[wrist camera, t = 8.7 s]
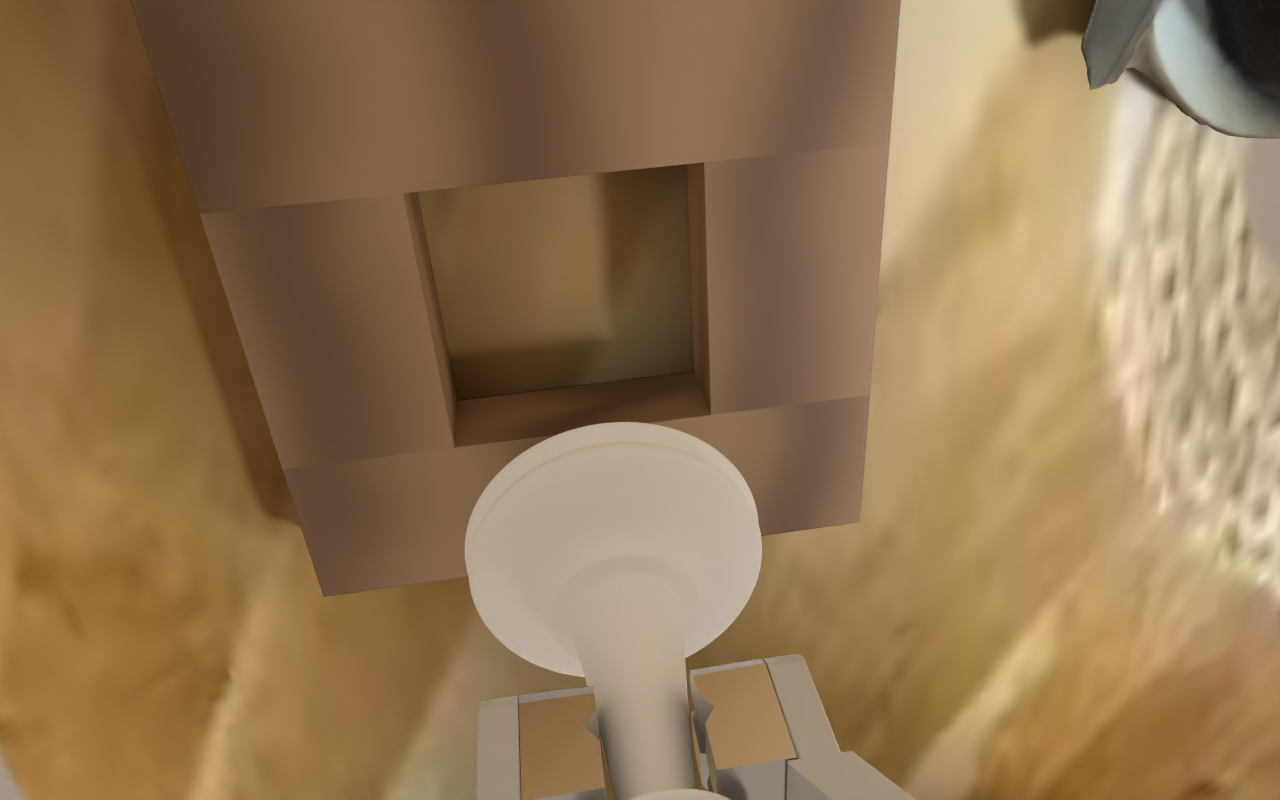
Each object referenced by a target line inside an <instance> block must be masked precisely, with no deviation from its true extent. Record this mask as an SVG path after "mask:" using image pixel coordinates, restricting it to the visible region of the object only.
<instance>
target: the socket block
mask: <svg viewBox="0 0 1280 800" xmlns="http://www.w3.org/2000/svg"><path fill="white" fill-rule="evenodd" d="M900 1H901V0H130V2H131V5H132V8H133V11H134V14H135V17H136V20H137V23H138V26H139V29H140V32H141V36H142V39H143V42H144V45H145V48H146V51H147V54H148V57H149V60H150V63H151V66H152V69H153V72H154V76H155V79H156V82H157V85H158V88H159V91H160V94H161V97H162V100H163V103H164V106H165V109H166V113H167V116H168V119H169V122H170V125H171V128H172V131H173V134H174V137H175V140H176V143H177V146H178V149H179V153H180V156H181V159H182V162H183V165H184V168H185V171H186V174H187V177H188V180H189V183H190V186H191V190H192V193H193V196H194V199H195V202H196V205H197V208H198V211H199V214H200V217H201V220H202V223H203V226H204V230H205V233H206V236H207V239H208V242H209V245H210V248H211V251H212V254H213V257H214V260H215V263H216V267H217V270H218V273H219V276H220V279H221V282H222V285H223V288H224V291H225V294H226V297H227V300H228V303H229V307H230V310H231V313H232V316H233V319H234V322H235V325H236V328H237V331H238V334H239V337H240V340H241V344H242V347H243V350H244V353H245V356H246V359H247V362H248V365H249V368H250V371H251V374H252V377H253V380H254V384H255V387H256V390H257V393H258V396H259V399H260V402H261V405H262V408H263V411H264V414H265V417H266V421H267V424H268V427H269V430H270V433H271V436H272V439H273V442H274V445H275V448H276V451H277V454H278V458H279V461H280V464H281V467H282V470H283V473H284V476H285V479H286V482H287V485H288V488H289V491H290V494H291V498H292V501H293V504H294V507H295V510H296V513H297V516H298V519H299V522H300V525H301V528H302V531H303V535H304V538H305V541H306V544H307V547H308V550H309V553H310V556H311V559H312V562H313V565H314V568H315V571H316V575H317V578H318V581H319V584H320V587H321V590H322V593H323V596H324V597H326V596H333V595H340V594H347V593H354V592H362V591H369V590H376V589H383V588H390V587H397V586H405V585H412V584H419V583H426V582H433V581H441V580H448V579H455V578H462V577H469V576H468V573H467V568H466V562H465V537H466V531H467V527H468V523H469V519H470V517H471V514H472V512H473V509H474V507H475V505H476V503H477V501H478V499H479V498H480V496H481V494H482V493H483V491H484V490H485V488H486V487H487V486H488V484H489V483H490V482H491V481H492V479H493V478H494V477H495V476H496V475H497V474H498V473H499V472H500V471H501V470H502V469H503V468H504V467H505V466H506V465H507V464H508V463H510V462H511V461H512V460H513V459H515V458H516V457H517V456H519V455H520V454H521V453H523V452H525V451H526V450H528V449H529V448H531V447H533V446H534V445H536V444H538V443H540V442H542V441H544V440H546V439H548V438H550V437H553V436H555V435H558V434H560V433H563V432H566V431H569V430H573V429H576V428H580V427H585V426H589V425H594V424H601V423H612V422H638V423H648V424H655V425H660V426H665V427H669V428H672V429H676V430H679V431H682V432H684V433H687V434H690V435H692V436H694V437H696V438H698V439H700V440H702V441H704V442H706V443H707V444H709V445H710V446H712V447H713V448H715V449H716V450H718V451H719V452H720V453H721V454H723V455H724V456H725V457H726V458H727V459H728V460H729V461H730V462H731V463H732V464H733V465H734V466H735V467H736V468H737V470H738V471H739V472H740V474H741V475H742V476H743V478H744V479H745V481H746V483H747V485H748V487H749V489H750V491H751V493H752V496H753V498H754V501H755V505H756V509H757V514H758V524H759V528H760V532H761V536H764V535H771V534H778V533H785V532H793V531H800V530H807V529H814V528H821V527H829V526H836V525H843V524H850V523H857V522H860V513H861V500H862V487H863V474H864V461H865V449H866V436H867V423H868V410H869V398H870V385H871V372H872V359H873V346H874V334H875V321H876V308H877V295H878V282H879V270H880V257H881V244H882V231H883V219H884V206H885V193H886V180H887V167H888V155H889V142H890V129H891V116H892V103H893V91H894V78H895V65H896V52H897V40H898V27H899V14H900ZM683 164H686V169H687V196H688V223H689V251H690V278H691V305H692V332H693V359H694V372H689V373H680V374H672V375H664V376H656V377H648V378H640V379H631V380H623V381H615V382H607V383H599V384H591V385H583V386H574V387H566V388H558V389H550V390H542V391H534V392H525V393H517V394H509V395H501V396H493V397H485V398H477V399H468V400H460V401H458V400H457V395H456V390H455V385H454V380H453V375H452V369H451V364H450V359H449V354H448V349H447V344H446V338H445V333H444V328H443V323H442V318H441V313H440V308H439V302H438V297H437V292H436V287H435V282H434V277H433V271H432V266H431V261H430V256H429V251H428V246H427V241H426V235H425V230H424V225H423V220H422V215H421V210H420V204H419V199H418V194H417V192H420V191H430V190H440V189H450V188H459V187H469V186H479V185H488V184H498V183H508V182H518V181H527V180H537V179H547V178H556V177H566V176H576V175H586V174H595V173H605V172H615V171H625V170H634V169H644V168H654V167H663V166H673V165H683Z"/></svg>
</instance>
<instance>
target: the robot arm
mask: <svg viewBox="0 0 1280 800" xmlns="http://www.w3.org/2000/svg"><path fill="white" fill-rule="evenodd" d="M690 692H691V696H692V701H693V705H694V710H693V712H692V713H691V716H692V729H693V738H694V747H695V754H696V759H697V764H698V769H699V774H700V779H701V783H702V786H703V787H705V788H706V789H707V791H710V792H713V793H717V794H720V795H722V796H725V797H727V798H729V799H731V800H916V799H914V798H913V797H912V796H910V795H909V794H908V793H906V792H905V791H904V790H903V789H901V788H900V787H899V786H897V785H896V784H895V783H893V782H892V781H891V780H890V779H888V778H887V777H886V776H884V775H883V774H882V773H880V772H879V771H878V770H876V769H875V768H874V767H873V766H871V765H870V764H869V763H867V762H866V761H865V760H863V759H862V758H861V757H859V756H858V755H857V754H856V753H854V752H853V751H847V752H841V751H840V748H839V745H838V743H837V740H836V738H835V735H834V733H833V730H832V728H831V725H830V723H829V720H828V718H827V715H826V712H825V710H824V707H823V705H822V702H821V700H820V697H819V695H818V692H817V690H816V687H815V685H814V682H813V679H812V677H811V674H810V672H809V669H808V667H807V664H806V662H805V659H804V658H803V657H802V656H801V655H800V654H799V653H797V654H791V655H784V656H778V657H771V658H765V659H763V660H761V659H756V660H750V661H744V662H737V663H731V664H725V665H719V666H713V667H706V668H700V669H694V670H690ZM476 800H608V797H607V789H606V780H605V771H604V763H603V755H602V747H601V739H600V731H599V724H598V716H597V708H596V701H595V693H594V686H587V687H578V688H570V689H562V690H554V691H546V692H538V693H530V694H522V695H517V696H510V697H502V698H494V699H487V700H481V702H480V706H479V709H478V732H477V772H476Z"/></svg>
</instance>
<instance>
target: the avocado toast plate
mask: <svg viewBox="0 0 1280 800" xmlns="http://www.w3.org/2000/svg"><path fill="white" fill-rule="evenodd" d="M1081 50H1082V53H1083V56H1084V59H1085V62H1086V66H1087V76H1088V81H1089V85H1090V89H1089V90H1091V89H1096V88H1099V87H1102V86H1104V85H1106V84H1112V83H1114V82H1116V81H1117V80H1118V79H1119V77H1120V75H1121V74H1122V73H1123V71H1124V70H1125V69H1126V68H1134V69H1136V70H1137V71H1139V72H1141V73H1142V74H1144V75H1145V76H1146V77H1148V78H1149V79H1150V80H1151V81H1152V82H1153V83H1154V84H1155V85H1156V87H1157V88H1158V89H1159V90H1160V91H1161V92H1162V93H1163V94H1164V95H1165V96H1166V97H1167V98H1168V99H1170V100H1171V101H1172V102H1173V103H1174V104H1175V105H1176V106H1177V107H1178V108H1179V109H1180V111H1182V112H1183V113H1184V114H1186V115H1187V116H1189V117H1191V118H1192V119H1194V120H1195V121H1196V122H1198V123H1199V124H1202V125H1208V126H1209V127H1211V128H1212V129H1214V130H1215V131H1217V132H1220V133H1223V134H1226V135H1229V136H1237V137H1245V138H1263V139H1275V138H1280V0H1096V1H1095V4H1094V7H1093V10H1092V12H1091V15H1090V18H1089V22H1088V25H1087V28H1086V31H1085V33H1084V36H1083V38H1082V44H1081Z"/></svg>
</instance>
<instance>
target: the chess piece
mask: <svg viewBox="0 0 1280 800" xmlns="http://www.w3.org/2000/svg"><path fill="white" fill-rule="evenodd" d="M761 561H762V539H761V532H760V528H759V524H758V514H757V509H756V505H755V501H754V498H753V496H752V493H751V491H750V489H749V487H748V485H747V483H746V481H745V479H744V478H743V476H742V475H741V474H740V472H739V471H738V470H737V468H736V467H735V466H734V465H733V464H732V463H731V462H730V461H729V460H728V459H727V458H726V457H725V456H724V455H723V454H721V453H720V452H719V451H718V450H716V449H715V448H713V447H712V446H710V445H709V444H707V443H706V442H704V441H702V440H700V439H698V438H696V437H694V436H692V435H690V434H687V433H684V432H682V431H679V430H676V429H672V428H669V427H665V426H660V425H655V424H648V423H638V422H612V423H601V424H594V425H589V426H585V427H580V428H576V429H573V430H569V431H566V432H563V433H560V434H558V435H555V436H553V437H550V438H548V439H546V440H544V441H542V442H540V443H538V444H536V445H534V446H533V447H531V448H529V449H528V450H526V451H525V452H523V453H521V454H520V455H519V456H517V457H516V458H515V459H513V460H512V461H511V462H510V463H508V464H507V465H506V466H505V467H504V468H503V469H502V470H501V471H500V472H499V473H498V474H497V475H496V476H495V477H494V478H493V479H492V481H491V482H490V483H489V484H488V486H487V487H486V488H485V490H484V491H483V493H482V494H481V496H480V498H479V499H478V501H477V503H476V505H475V507H474V509H473V512H472V514H471V517H470V519H469V523H468V527H467V531H466V537H465V562H466V568H467V573H468V576H469V585H470V591H471V595H472V598H473V601H474V604H475V607H476V609H477V611H478V613H479V615H480V617H481V619H482V620H483V622H484V623H485V625H486V626H487V628H488V629H489V630H490V632H491V633H492V634H493V635H494V636H495V637H496V638H497V639H498V640H499V641H500V642H501V643H502V644H503V645H504V646H506V647H507V648H508V649H509V650H511V651H512V652H514V653H515V654H517V655H518V656H520V657H521V658H523V659H525V660H527V661H529V662H531V663H533V664H535V665H537V666H540V667H542V668H545V669H548V670H551V671H554V672H558V673H562V674H567V675H572V676H579V677H585V680H586V684H587V686H594V693H595V701H596V708H597V716H598V724H599V731H600V735H601V739H602V743H603V746H604V750H605V754H606V758H607V762H608V767H609V772H610V777H611V781H612V786H613V790H614V794H615V798H616V800H731V799H729V798H727V797H725V796H722V795H720V794H717V793H713V792H710V791H705V790H698V789H696V779H695V769H694V759H693V752H692V743H691V731H690V718H689V707H688V693H687V678H686V664H685V658H687V657H688V656H690V655H692V654H694V653H696V652H697V651H699V650H701V649H702V648H704V647H705V646H707V645H708V644H709V643H711V642H712V641H713V640H715V639H716V638H717V637H718V636H719V635H720V634H721V633H723V632H724V631H725V630H726V629H727V628H728V627H729V626H730V625H731V624H732V622H733V621H734V620H735V619H736V618H737V616H738V615H739V614H740V613H741V611H742V610H743V608H744V607H745V605H746V604H747V602H748V600H749V598H750V596H751V594H752V592H753V590H754V588H755V585H756V582H757V579H758V576H759V572H760V567H761Z"/></svg>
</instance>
